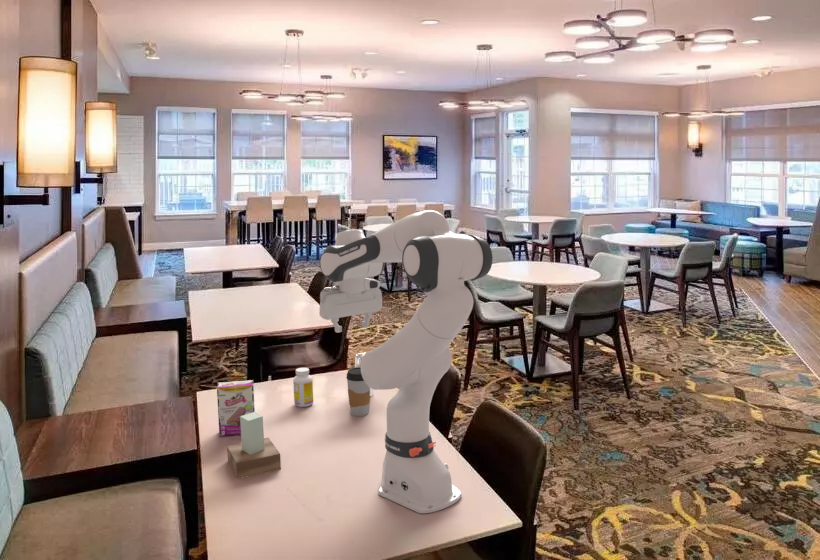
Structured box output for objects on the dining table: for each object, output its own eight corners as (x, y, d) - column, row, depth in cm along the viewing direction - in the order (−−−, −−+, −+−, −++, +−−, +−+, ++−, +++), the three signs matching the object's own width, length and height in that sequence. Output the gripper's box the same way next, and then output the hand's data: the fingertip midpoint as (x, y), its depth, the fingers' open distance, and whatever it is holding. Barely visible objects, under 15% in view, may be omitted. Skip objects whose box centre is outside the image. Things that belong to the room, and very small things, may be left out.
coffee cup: (376, 412, 217) (376, 370, 214) (357, 419, 211) (356, 376, 208) (361, 406, 223) (360, 365, 220) (342, 412, 217) (341, 370, 214)
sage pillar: (264, 449, 179) (262, 416, 177) (250, 454, 176) (248, 420, 174) (256, 444, 182) (254, 411, 181) (242, 449, 179) (240, 416, 177)
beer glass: (371, 398, 230) (370, 359, 227) (353, 397, 231) (352, 357, 228) (376, 392, 236) (375, 353, 234) (358, 390, 238) (357, 352, 235)
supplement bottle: (315, 401, 228) (314, 366, 226) (310, 408, 222) (309, 372, 219) (297, 400, 229) (295, 366, 226) (292, 407, 222) (290, 372, 220)
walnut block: (280, 470, 178) (280, 453, 177) (237, 480, 172) (236, 463, 171) (269, 453, 188) (268, 437, 187) (228, 462, 183) (227, 446, 182)
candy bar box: (219, 437, 198) (216, 387, 195) (220, 431, 203) (216, 382, 200) (256, 433, 201) (253, 384, 198) (255, 427, 206) (253, 379, 203)
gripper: (325, 290, 178) (327, 337, 181) (384, 281, 191) (385, 326, 193) (314, 286, 183) (316, 333, 186) (372, 278, 196) (373, 322, 198)
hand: (352, 329), depth 190 cm, fingers open, 8 cm apart
